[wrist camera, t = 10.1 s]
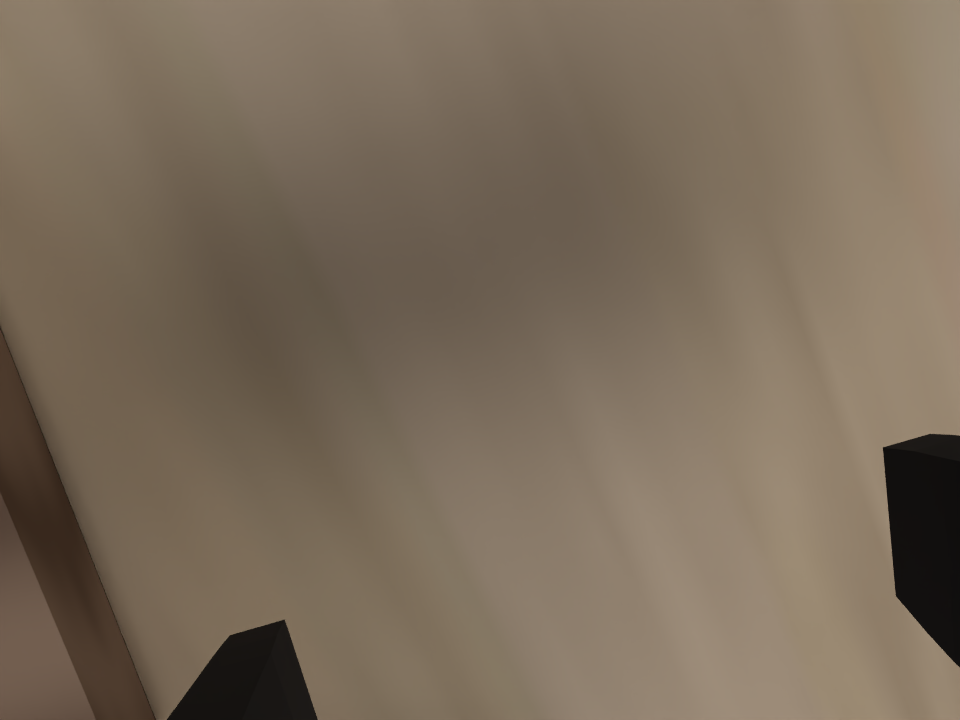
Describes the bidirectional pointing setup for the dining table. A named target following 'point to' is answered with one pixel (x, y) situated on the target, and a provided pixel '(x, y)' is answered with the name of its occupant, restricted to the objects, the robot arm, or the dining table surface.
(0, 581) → the walnut base
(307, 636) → the dining table surface
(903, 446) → the robot arm
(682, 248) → the dining table surface
